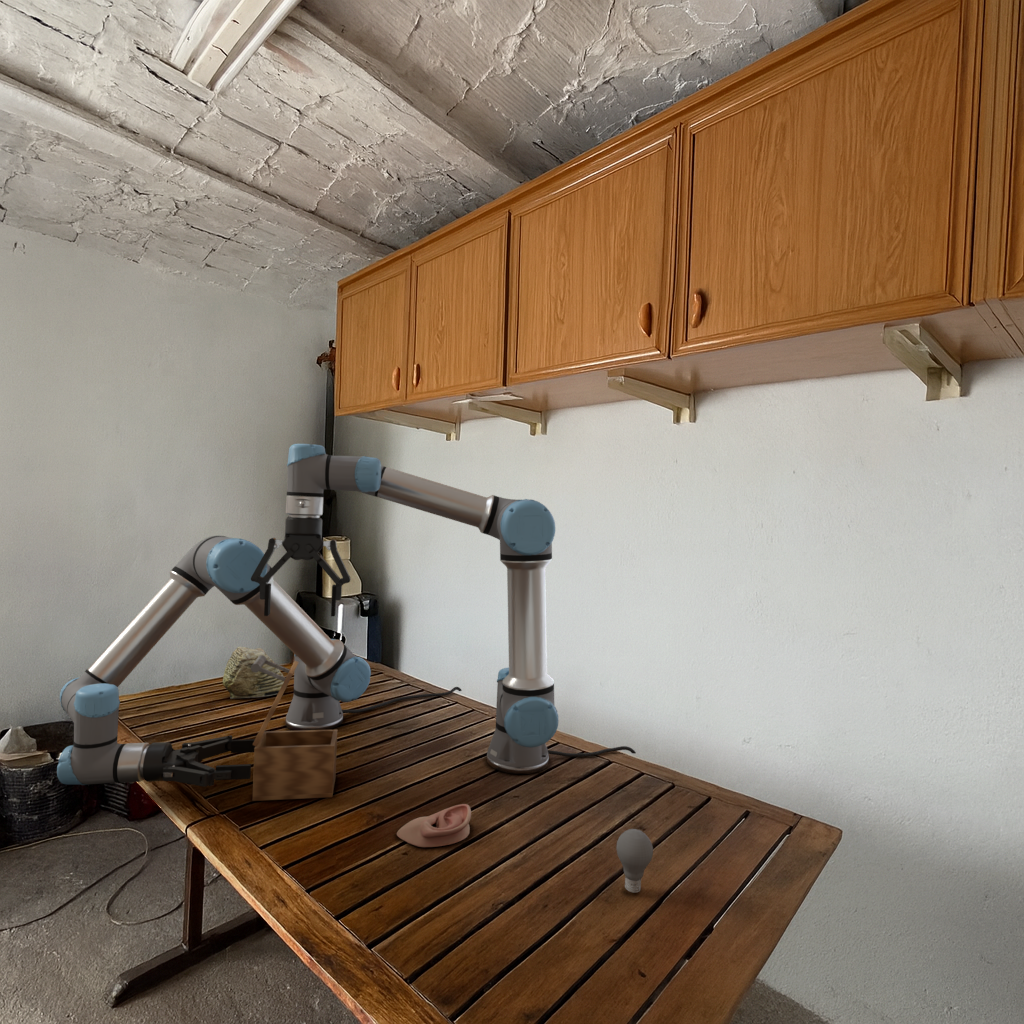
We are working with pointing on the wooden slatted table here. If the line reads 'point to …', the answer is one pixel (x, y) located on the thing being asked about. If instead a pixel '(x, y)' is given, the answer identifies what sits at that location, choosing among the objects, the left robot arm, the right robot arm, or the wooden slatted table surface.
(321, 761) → the chest
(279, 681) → the fossil
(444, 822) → the anatomical model
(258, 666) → the lid
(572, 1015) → the wooden slatted table surface
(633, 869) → the light bulb
